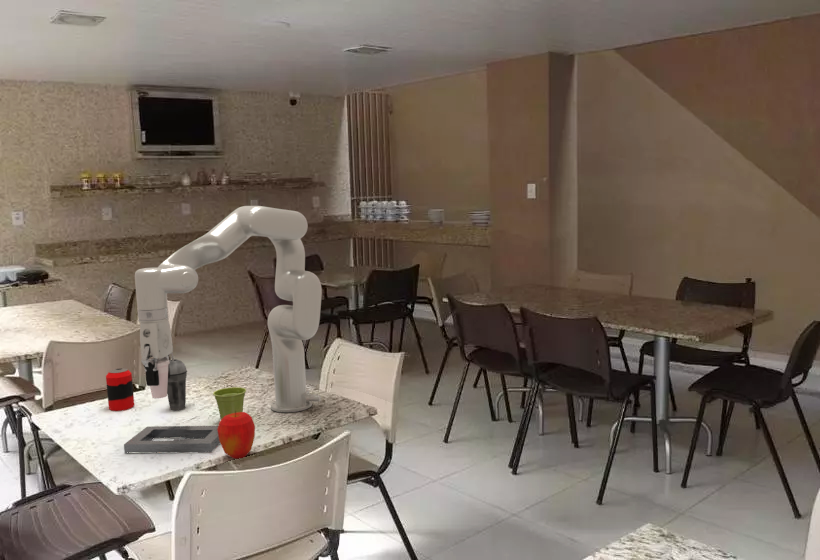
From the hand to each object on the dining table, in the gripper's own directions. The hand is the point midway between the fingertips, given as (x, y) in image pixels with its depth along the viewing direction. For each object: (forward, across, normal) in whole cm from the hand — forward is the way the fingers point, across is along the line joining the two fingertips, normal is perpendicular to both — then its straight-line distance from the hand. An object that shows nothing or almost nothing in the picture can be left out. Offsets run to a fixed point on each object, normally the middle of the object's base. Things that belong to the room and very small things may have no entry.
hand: (158, 381), depth 190 cm
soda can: (+17, +33, +28) cm, 46 cm away
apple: (+17, -10, -24) cm, 31 cm away
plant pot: (+17, +19, -12) cm, 29 cm away
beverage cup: (+17, +31, +8) cm, 37 cm away
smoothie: (+4, 0, 0) cm, 4 cm away
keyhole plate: (+17, 0, -4) cm, 18 cm away
